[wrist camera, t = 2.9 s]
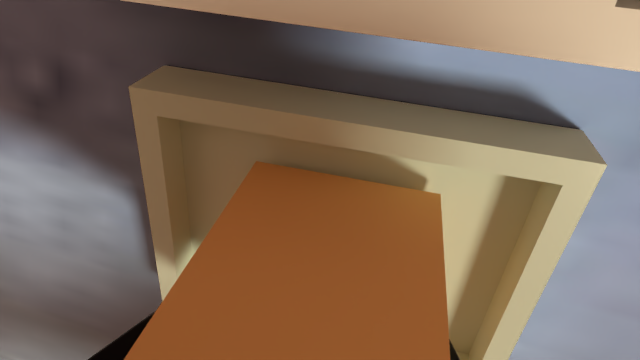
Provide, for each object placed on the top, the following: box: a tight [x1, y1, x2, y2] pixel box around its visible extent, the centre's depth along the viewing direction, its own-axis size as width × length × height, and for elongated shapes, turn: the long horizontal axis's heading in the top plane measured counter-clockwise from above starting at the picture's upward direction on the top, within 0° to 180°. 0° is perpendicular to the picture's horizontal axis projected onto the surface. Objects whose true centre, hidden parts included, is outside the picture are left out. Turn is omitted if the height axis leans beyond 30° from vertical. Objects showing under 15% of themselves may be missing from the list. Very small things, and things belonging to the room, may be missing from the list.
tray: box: [129, 65, 607, 360], centre depth 12 cm, size 8×10×2 cm
